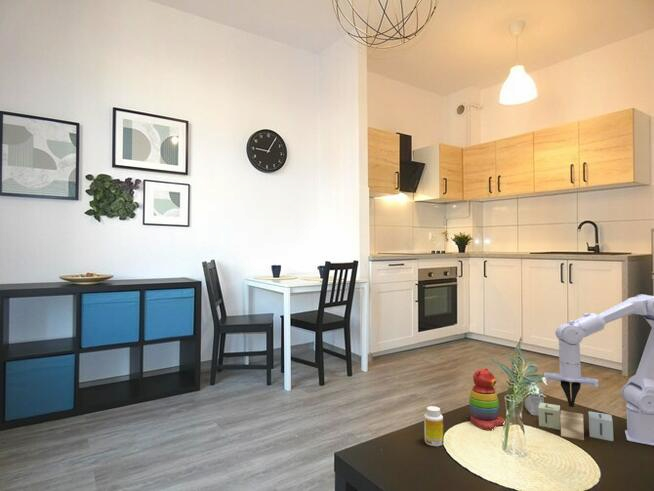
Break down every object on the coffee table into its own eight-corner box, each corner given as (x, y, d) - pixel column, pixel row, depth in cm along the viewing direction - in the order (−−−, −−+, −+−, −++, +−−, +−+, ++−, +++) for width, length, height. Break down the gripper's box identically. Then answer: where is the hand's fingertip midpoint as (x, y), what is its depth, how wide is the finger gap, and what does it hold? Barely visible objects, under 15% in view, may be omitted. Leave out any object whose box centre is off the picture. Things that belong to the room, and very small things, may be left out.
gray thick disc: (544, 416, 138) (543, 391, 138) (531, 415, 139) (530, 390, 139) (537, 408, 146) (536, 384, 146) (524, 407, 146) (523, 384, 147)
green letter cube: (560, 423, 132) (560, 405, 132) (559, 430, 126) (559, 411, 127) (540, 420, 135) (539, 402, 135) (538, 426, 130) (538, 407, 130)
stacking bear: (489, 432, 125) (487, 375, 126) (462, 421, 134) (461, 368, 135) (508, 424, 131) (506, 370, 132) (482, 414, 140) (480, 364, 141)
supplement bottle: (446, 447, 115) (445, 411, 116) (427, 447, 115) (427, 412, 115) (440, 438, 121) (439, 404, 121) (422, 439, 120) (421, 405, 121)
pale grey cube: (612, 434, 123) (611, 414, 124) (613, 441, 118) (612, 421, 118) (589, 430, 126) (588, 410, 127) (589, 437, 121) (588, 417, 122)
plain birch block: (583, 433, 124) (583, 414, 124) (584, 440, 119) (583, 420, 119) (561, 429, 127) (561, 410, 127) (561, 436, 122) (560, 416, 122)
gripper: (542, 362, 125) (544, 405, 124) (597, 368, 117) (599, 414, 116) (544, 357, 131) (545, 399, 130) (597, 363, 123) (598, 407, 122)
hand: (571, 406), depth 124 cm, fingers closed
